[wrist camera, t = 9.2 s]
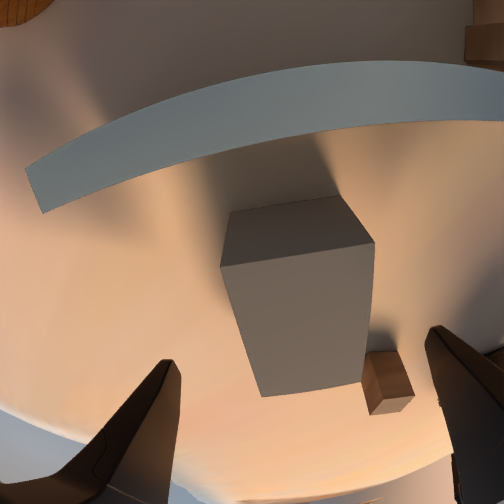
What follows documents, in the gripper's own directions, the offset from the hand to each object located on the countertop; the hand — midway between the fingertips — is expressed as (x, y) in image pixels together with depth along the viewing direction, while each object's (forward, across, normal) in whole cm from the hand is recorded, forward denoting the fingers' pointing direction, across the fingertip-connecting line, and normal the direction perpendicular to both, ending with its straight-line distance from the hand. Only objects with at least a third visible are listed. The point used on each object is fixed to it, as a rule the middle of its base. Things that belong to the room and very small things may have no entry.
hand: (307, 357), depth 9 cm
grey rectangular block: (+5, 0, 0) cm, 5 cm away
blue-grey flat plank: (+4, -2, -8) cm, 9 cm away
